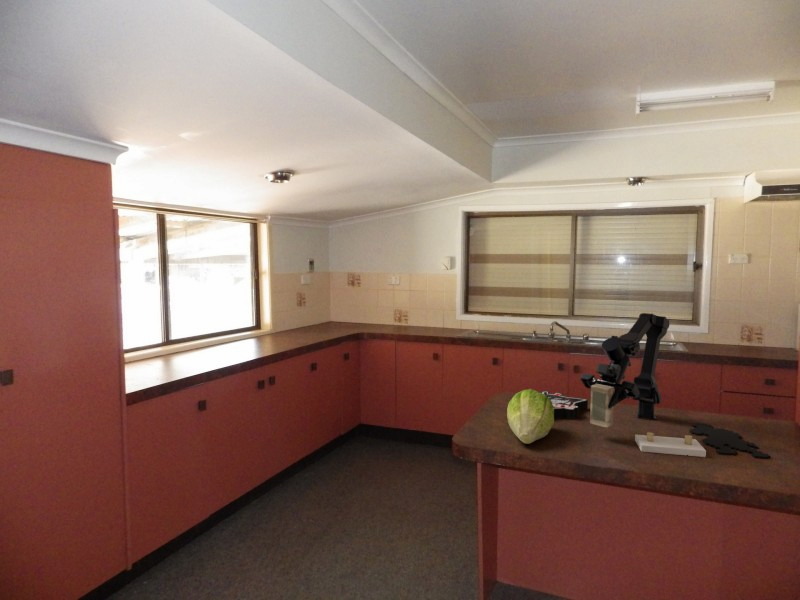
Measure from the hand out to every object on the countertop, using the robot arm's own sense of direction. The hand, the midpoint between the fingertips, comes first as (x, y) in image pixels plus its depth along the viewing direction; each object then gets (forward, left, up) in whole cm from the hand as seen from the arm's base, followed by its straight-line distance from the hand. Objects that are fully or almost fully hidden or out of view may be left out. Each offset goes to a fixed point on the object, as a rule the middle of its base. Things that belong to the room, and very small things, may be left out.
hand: (599, 405), depth 166 cm
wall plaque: (-27, -18, -12) cm, 35 cm away
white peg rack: (+2, +21, -11) cm, 24 cm away
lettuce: (+5, -22, -12) cm, 26 cm away
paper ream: (-1, +1, -7) cm, 7 cm away
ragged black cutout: (-13, +39, -12) cm, 42 cm away
